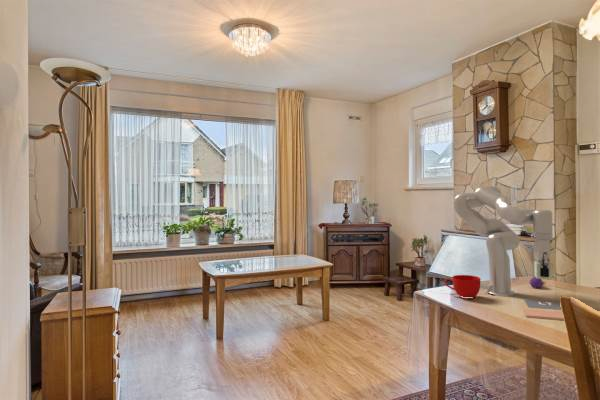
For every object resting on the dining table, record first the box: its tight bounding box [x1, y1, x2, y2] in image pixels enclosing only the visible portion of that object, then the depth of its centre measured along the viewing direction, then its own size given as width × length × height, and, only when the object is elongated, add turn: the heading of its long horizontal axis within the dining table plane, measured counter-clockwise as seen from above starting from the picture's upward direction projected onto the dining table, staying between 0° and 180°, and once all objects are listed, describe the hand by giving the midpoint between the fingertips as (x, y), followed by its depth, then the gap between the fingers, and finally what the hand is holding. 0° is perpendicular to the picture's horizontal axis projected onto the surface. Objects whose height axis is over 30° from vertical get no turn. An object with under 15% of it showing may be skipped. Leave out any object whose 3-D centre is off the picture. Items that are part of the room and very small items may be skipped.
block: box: [533, 260, 553, 280], centre depth 167 cm, size 6×6×7 cm
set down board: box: [522, 308, 565, 321], centre depth 152 cm, size 14×10×1 cm
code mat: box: [523, 299, 562, 311], centre depth 165 cm, size 16×14×1 cm
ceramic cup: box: [444, 274, 481, 298], centre depth 184 cm, size 13×17×10 cm
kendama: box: [529, 276, 544, 289], centre depth 202 cm, size 6×6×20 cm
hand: (543, 274), depth 167 cm, fingers closed on block, 6 cm apart
